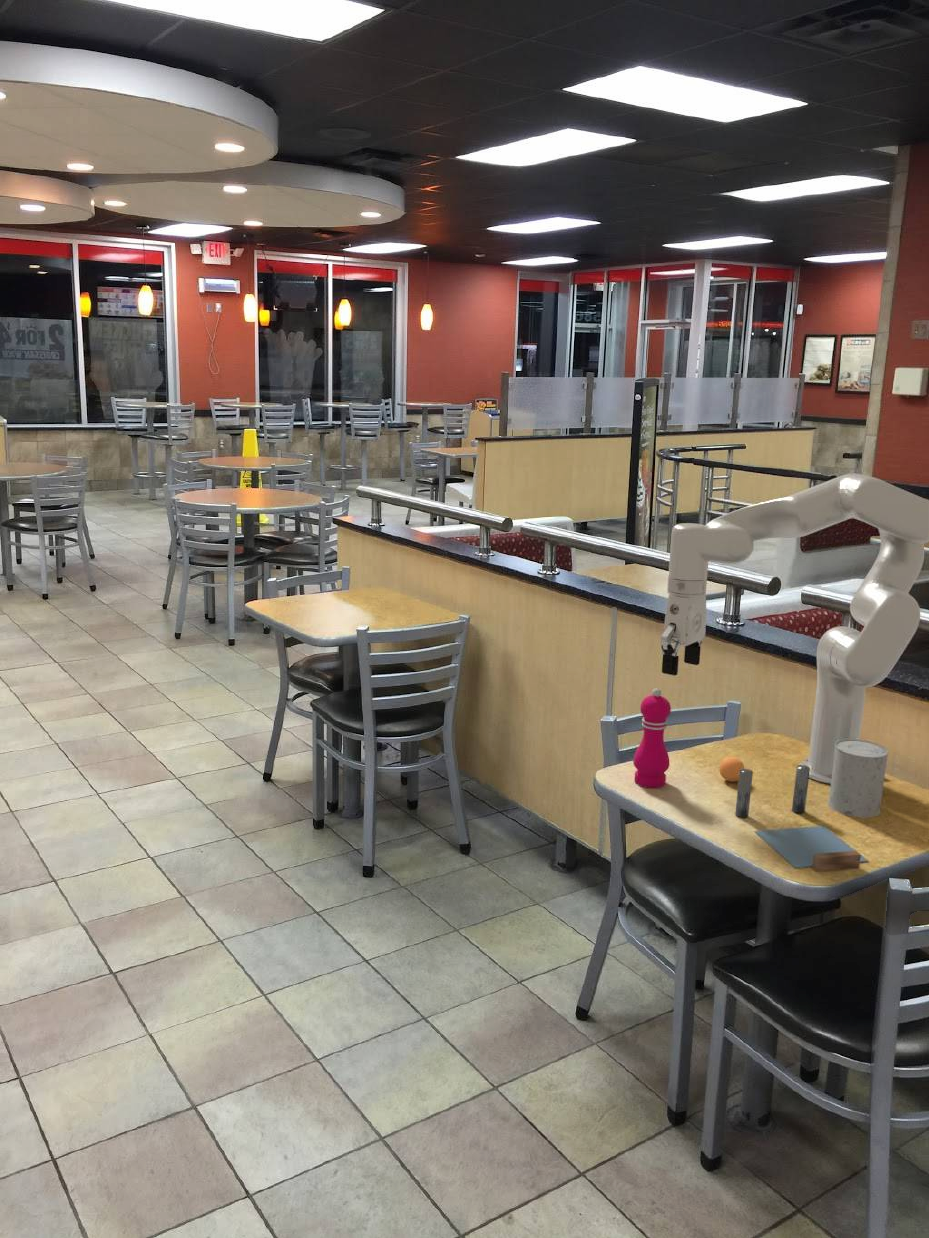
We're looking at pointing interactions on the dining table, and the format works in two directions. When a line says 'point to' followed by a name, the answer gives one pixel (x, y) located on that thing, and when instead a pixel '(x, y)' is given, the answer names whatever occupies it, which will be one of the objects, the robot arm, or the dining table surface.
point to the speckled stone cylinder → (858, 778)
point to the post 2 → (800, 789)
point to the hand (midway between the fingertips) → (680, 668)
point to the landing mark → (804, 844)
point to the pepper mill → (652, 742)
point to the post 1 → (744, 793)
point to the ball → (731, 769)
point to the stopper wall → (836, 861)
